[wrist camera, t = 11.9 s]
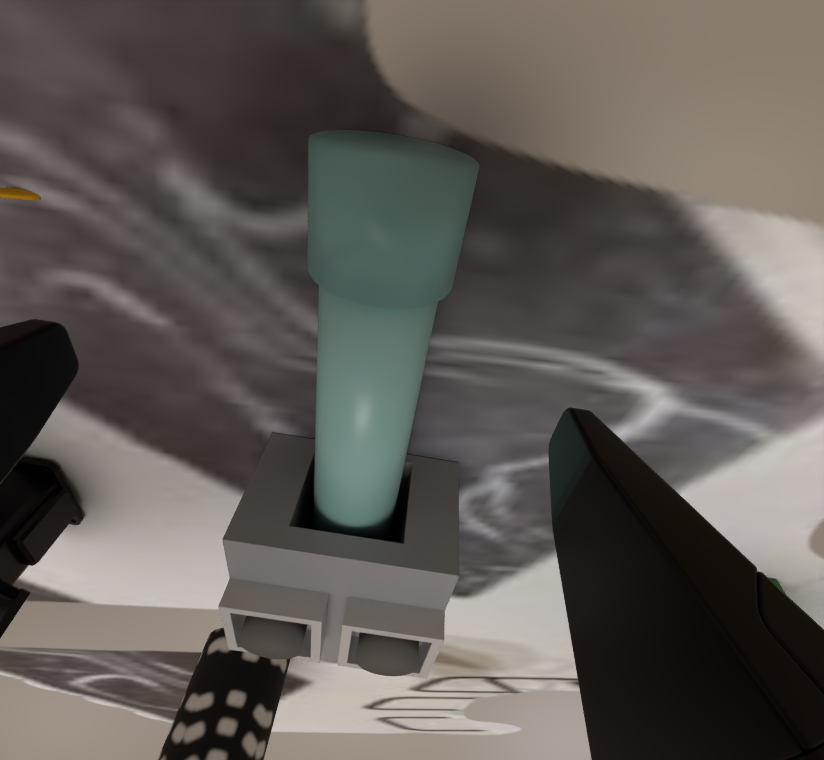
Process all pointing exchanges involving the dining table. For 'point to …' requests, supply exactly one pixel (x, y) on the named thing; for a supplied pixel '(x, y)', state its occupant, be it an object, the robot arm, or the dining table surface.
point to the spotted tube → (226, 705)
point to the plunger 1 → (272, 637)
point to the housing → (342, 559)
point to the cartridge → (376, 307)
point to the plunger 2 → (387, 654)
